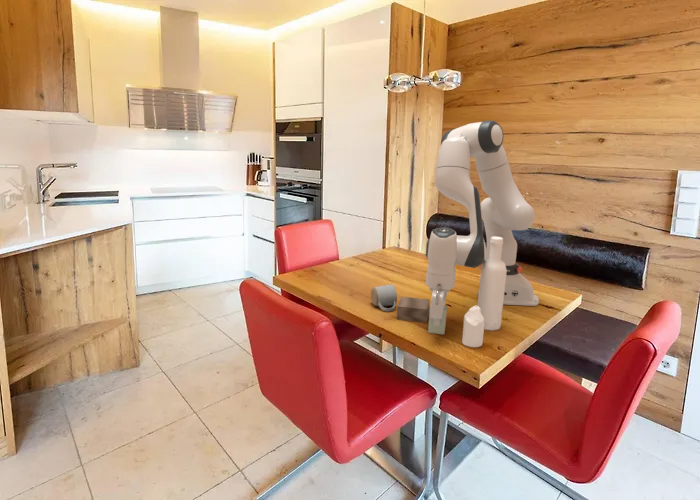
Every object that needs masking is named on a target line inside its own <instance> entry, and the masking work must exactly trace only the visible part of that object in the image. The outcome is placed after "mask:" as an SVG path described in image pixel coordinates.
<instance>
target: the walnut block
mask: <svg viewBox="0 0 700 500" xmlns="http://www.w3.org/2000/svg"><path fill="white" fill-rule="evenodd" d="M400 297H401V298H399V302H398V304H397V307H396V308H397V309H396V320H399V321H400V320H401V321H410V322H416V323H417V322H418V323H425V324H426V323H427V322H428V319H429V312H430V303H431V298H430V299H427V298H420V297H419V298H417V297H409V296H400Z"/></svg>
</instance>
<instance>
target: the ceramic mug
mask: <svg viewBox="0 0 700 500" xmlns="http://www.w3.org/2000/svg"><path fill="white" fill-rule="evenodd" d="M370 298H371V303H372V305H373V306H375V307H378V308H380V309H381V311H383V312H392V311H394V310H395V308H396V305H397V302H398V294H397V289H396V287H395V286H394V284H392V283H391V284H387V285H380V286H375V287H372V288H371V291H370ZM388 306H392V307H390V308H387V307H388Z"/></svg>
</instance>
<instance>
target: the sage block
mask: <svg viewBox="0 0 700 500" xmlns="http://www.w3.org/2000/svg"><path fill="white" fill-rule="evenodd" d="M447 310H448V305H447V304H445V306H444V311H443V316H442V319H440V324H439V326H434V318H431V317H430V311H429V313H428V328H427V329H428V330H427V333H429V334H437V335H443V336H444V335H445V331H446V322H447Z"/></svg>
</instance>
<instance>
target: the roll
mask: <svg viewBox="0 0 700 500" xmlns="http://www.w3.org/2000/svg"><path fill="white" fill-rule="evenodd" d="M484 321H485V320H484V318H483V316H482V314H481V309H480V308H479V307H478V304H477V305H474V306H471V307H470V308H469V309H468V311H467V312H466V313H465V314H464V317H463V326H462V327H463V328H462V337H461V338H462V339H461V343H462V344H463V345H464V346H466V347H469V348H479V347H480V348H481V347H482V346H483V341H484V340H483V339H484V334H485V333H484V331H485V330H484Z"/></svg>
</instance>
